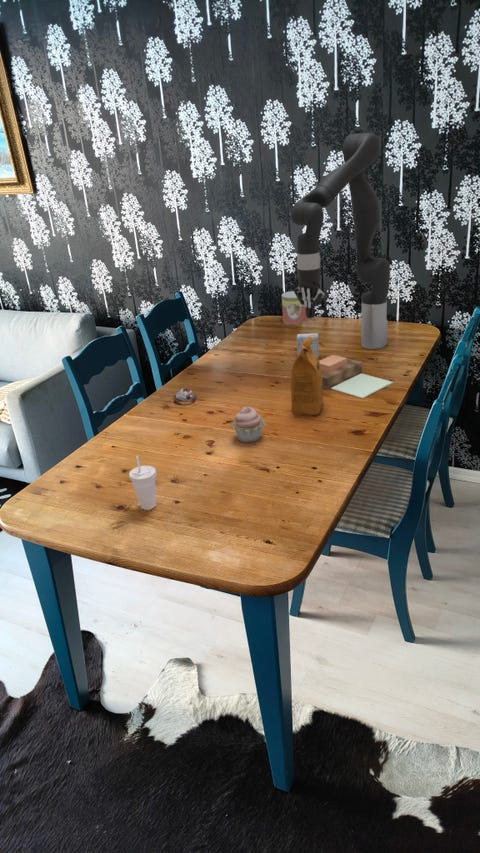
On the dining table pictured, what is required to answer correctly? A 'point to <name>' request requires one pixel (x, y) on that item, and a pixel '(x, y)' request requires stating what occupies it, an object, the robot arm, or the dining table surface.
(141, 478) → the smoothie
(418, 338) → the dining table surface
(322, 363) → the pink rectangular block
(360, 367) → the deck
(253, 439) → the cupcake
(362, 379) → the mat
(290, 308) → the canned food
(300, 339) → the medicine box
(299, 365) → the coffee package
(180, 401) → the pastry
